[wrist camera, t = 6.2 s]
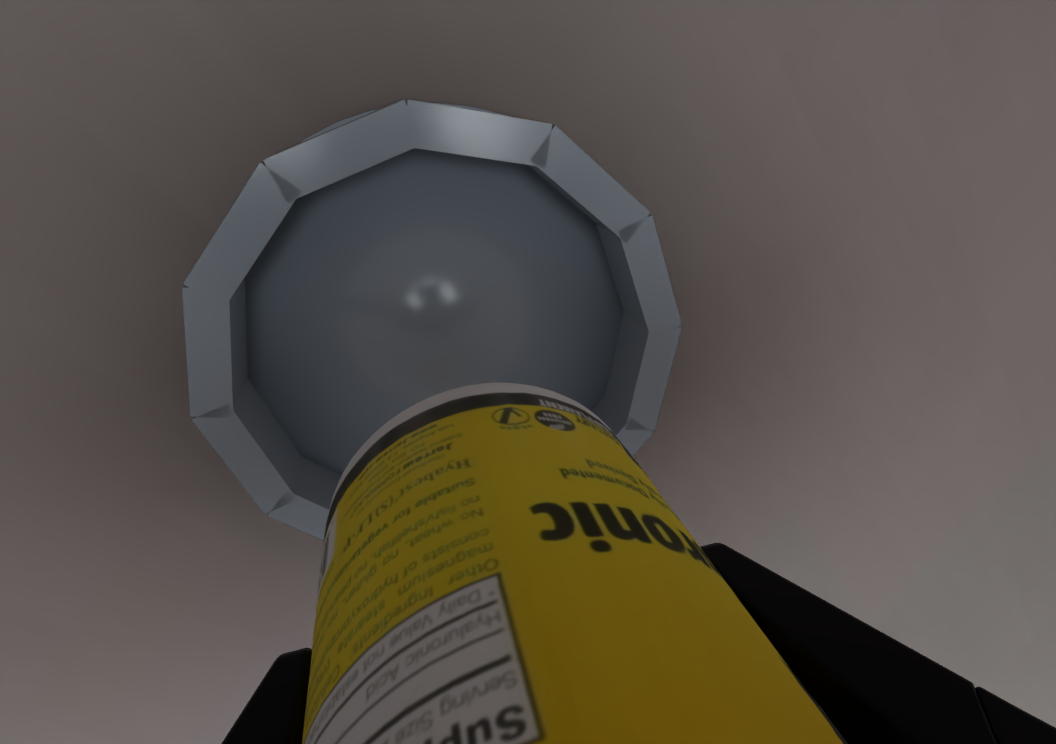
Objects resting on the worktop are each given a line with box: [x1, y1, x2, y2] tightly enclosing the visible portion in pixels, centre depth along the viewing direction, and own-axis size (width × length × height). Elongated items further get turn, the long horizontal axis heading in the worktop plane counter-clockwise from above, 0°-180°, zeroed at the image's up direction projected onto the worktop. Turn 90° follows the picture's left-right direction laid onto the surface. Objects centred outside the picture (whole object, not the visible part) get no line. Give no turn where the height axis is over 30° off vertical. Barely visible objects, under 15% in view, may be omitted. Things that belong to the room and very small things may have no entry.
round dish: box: [182, 99, 682, 540], centre depth 18 cm, size 13×13×3 cm
